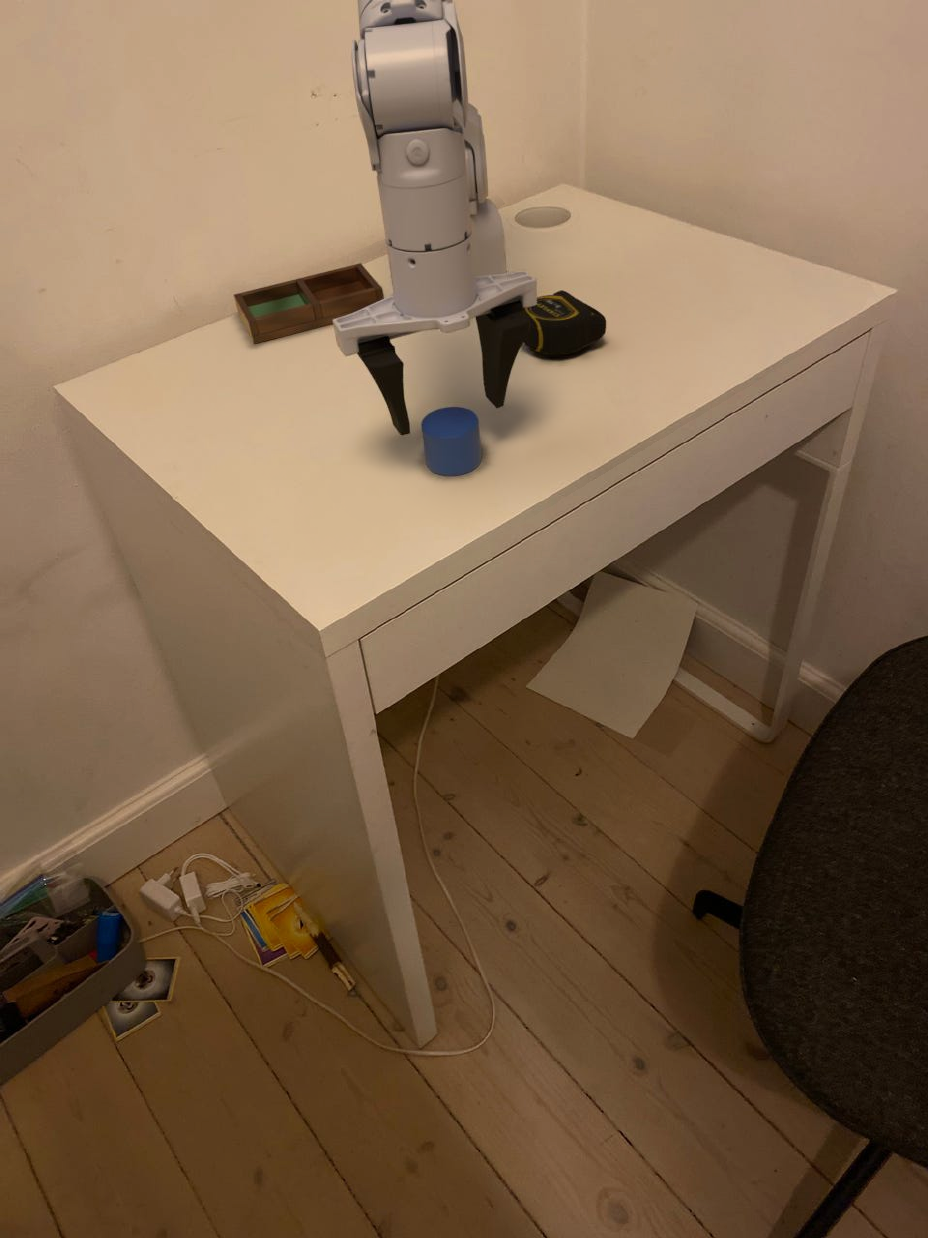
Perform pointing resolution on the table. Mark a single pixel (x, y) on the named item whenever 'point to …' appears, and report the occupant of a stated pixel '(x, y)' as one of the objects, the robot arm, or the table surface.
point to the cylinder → (451, 441)
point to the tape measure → (562, 324)
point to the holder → (306, 302)
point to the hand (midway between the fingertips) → (448, 414)
